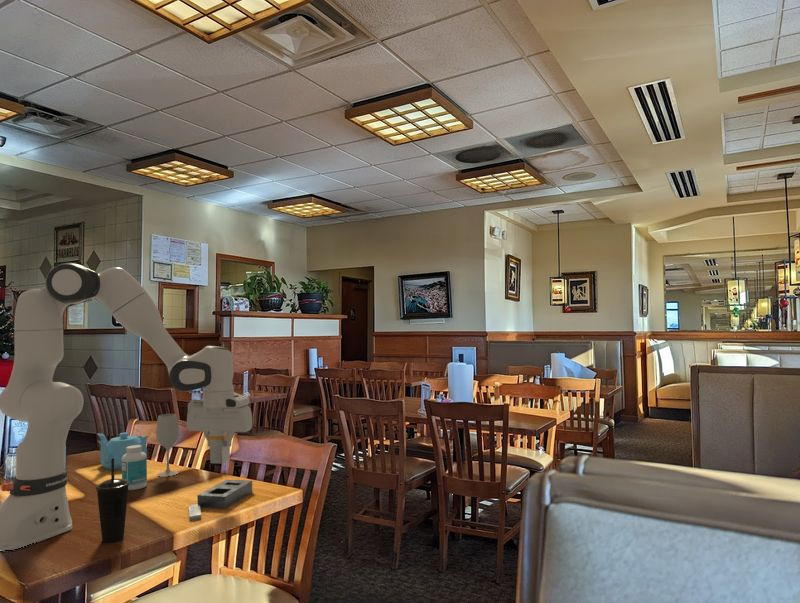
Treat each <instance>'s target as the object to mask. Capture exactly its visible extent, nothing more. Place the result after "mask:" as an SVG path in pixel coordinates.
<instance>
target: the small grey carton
mask: <svg viewBox="0 0 800 603" xmlns="http://www.w3.org/2000/svg"><path fill="white" fill-rule="evenodd" d="M228 436H229V435H227V432H222V430H218V429H210V446H209V452H210V453H209V458H210V459H209V460H210V464H218V465H219V464H222V465H223V464H225V463H226V462H229V461H230V447H224V441H225V440H227V438H228Z"/></svg>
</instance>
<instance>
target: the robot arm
mask: <svg viewBox="0 0 800 603" xmlns="http://www.w3.org/2000/svg"><path fill="white" fill-rule="evenodd" d="M89 300H97V301H98V302H100V303H101V304H102V305H103V306H104V307H105V308H106V309H107V310H108V312H109V313H110V314H111V315H112V317H113V318H114V319H115V320H116V321H117V323H119V324H120V325H121V326H122V327H123V328H124V329H126V331H128V332H129V333H131V334H133V335H135V336H137V337H138V338H141V339H142V340H144V341H145V342H146V343H147V344H148V345H149V346H150V347H151V348H152V350H153V351H154V352H155V353H156V354H157V356H158V357H159V358H160V359H161V360H162V362H163V363H164V365H165V366H166V369H167V373H168V377H169V378H168V379H169V382H170V384H171V385H172V387H173V388H174V389H175V390H178V391H180V392H186V393H187V392H188V393H189V392H192V391H195V390H199V389H202V399H192V400H191V401H189V402H188V404H187V415H186V429H187V430H188V431H189V432H203V435H204V437H205V439H206V441H207V446H208V447H210V429H218V430H222V432H227V435H229V436H228V438H227V440H225V441H224V447H229V448H230V447H232V440H233V438H234V436H235V435H236V433H246V432H249V431H251V430H252V428H253V414H252V409H251V407H250V406H249V404H250V402H251V401H250V398H249V397H248V396H245V395H242V394H240V393H237V392H235V387H234V385H233V378H234V360H233V353H232V352H231V350H229V349H228V348H227V347H224V346H223V347H222V346H216V345H206V346H204V347H203V348H202V349H201V350H199V351H198V352H196V353H193V354H192V355H190V354H188V353H187V352H185V351H184V350H183V349H182V348H181V347H180V346H179V345H178V342H176V341H175V339H174V338H173V337H172V336H171V335H170V333H169V332H168V330H167V328H166V327H165V325H164V322H163V318H162V316H161V313H160V311H159V309H158V307H157V305H156V303H155V301H154V300H153V298H152V297H151V296H150V294H149V293H148V292H147V291H146V289H145V288H144V287H143V286H142V284H141V283H140V282H139V281H138V280H137V279H136V278H135V277H134V276H132V274H130V273H129V272H128V271H127V270H126V269H124V268H122V267H119V266H113V267H110V268H106V269H104V270H103V271H100V272H96V271H94V270H92V269H90V268H89V267H86V266H85V265H83V264H78V263H74V262H64V263H61V264H58V265H56V266H54V267H52V268H51V270H49V272H48V273H47V275H46V277H45V286H44V287H41V288H32V289H31V288H30V289H28V290H26V291H23V292H21V294H20V295H18V298H17V302H16V304H15V305H16V307H15V312H14V326H13V327H14V328H13V330H14V331H13V332H14V335H13V336H14V358H13V366H12V370H11V373H10V374H11V375H10V377H9V380H8V383H7V385H6V386H5V387H4V389H3V390H2V391H1V393H0V411H1V413H2V414H3V415H5V416H6V417H9V418H10V419H12V420H15V421H18V422H26V423H27V429H26V432H25V435H24V437H23V440H22V441H21V442H20V443H19V444H18V445H17V447H16V448H15V450H16V451H15V477H14V479H13V482H12V483H11V482H9V483H7V482H3V483H2V484H1V485H0V490H1V492H9V495H8V496H7V498H5V499H4V500H3V502H2V503H1V504H0V550H12V549H18V548H21V547H23V548H25V547H24V546H26V547H28V546H27V545H29V544H31V545H33V544H32V543H34V544H36V542H37V543H39V542H43V541H45V540H47V539H49V538H53V537H56V536H58V535H60V534H63V533H66V532H69V531H72V530H73V519H72V517H71V512H70V506H69V501H68V495H67V489H66V485H67V484H68V473H67V472H68V471H67V469H66V444H67V438H68V436H69V435H68V434H69V432H70V428H71V427H72V426H71V425H72V423H73V422H74V420H75V419H76V418H77V417H78V416H79V415H80V414H81V413H82V411H83V407H84V404H85V403H84V395H83V393H82V391H81V390H80V389H79V388H77V387H76V386H73V385H71V384H68V383H65V382H61V381H53V378H54V375H55V371H56V368H57V366H58V364H59V363H61V361H62V360H63V358H64V356H65V355H64V351H65V350H64V323H63V322H64V313H65V309H66V308H68V307H69V308H70V307H73V306H75V305H76V306H77V305H79V304H83V303H86V302H88V301H89ZM29 546H30V545H29ZM21 549H22V548H21ZM18 550H19V549H18Z"/></svg>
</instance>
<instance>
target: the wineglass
mask: <svg viewBox="0 0 800 603" xmlns="http://www.w3.org/2000/svg"><path fill="white" fill-rule="evenodd" d="M179 435H180V426H179V421H178V416H177V414H176V413H166V414H165V413H164V414H160V415H158V417H157V422H156V429H155V437H156V441H157V443H159V444H160V445H161V446H162V447H164V449H165V450H166V469H165V470H164V471H161V472H158V473H157V474H156V477H158V476H160V477H159V478H169V477H168V476H170V477H174V476H173V475H175V476H177V475H179V474H180V473H179V471H177V470H171V468H170V448H172V447H173V445H174V444H175V443H176V442H177V441H178V440H179ZM178 473H179V474H178ZM176 474H177V475H176Z"/></svg>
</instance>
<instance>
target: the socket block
mask: <svg viewBox="0 0 800 603" xmlns="http://www.w3.org/2000/svg"><path fill="white" fill-rule="evenodd" d="M251 493H253V480H247V479H246V480H244V479H243V480H241V479H225V480H223V481H222V482H219V483H218V484H216V485H214V486H212V487H210V488H208V489H206V490H205V491H202V492H200V493H198V494H197V504H200V509H201V508H204V509H217V510H219V509H220V510H221V509H222V510H226V509H228V508H229V507H230V506H232V505H234V504H235V503H237V502H239V501H240V500H242V499H243V498H244V499H245V497H247V496H248V495H249V494H251Z"/></svg>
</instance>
